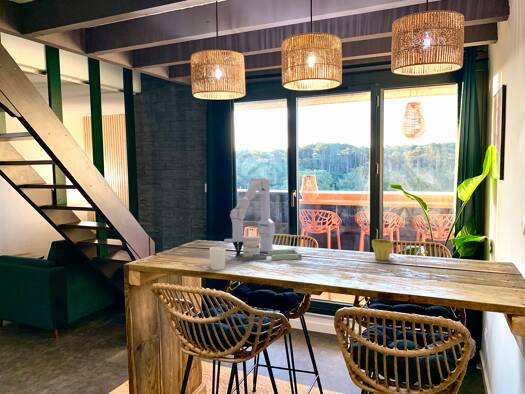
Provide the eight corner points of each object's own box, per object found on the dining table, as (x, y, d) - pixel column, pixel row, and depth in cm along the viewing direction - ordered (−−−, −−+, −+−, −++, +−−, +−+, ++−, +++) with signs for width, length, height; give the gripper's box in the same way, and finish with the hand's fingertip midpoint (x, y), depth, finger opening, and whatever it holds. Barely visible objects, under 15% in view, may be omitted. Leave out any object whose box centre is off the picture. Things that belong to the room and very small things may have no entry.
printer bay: (235, 256, 223) (235, 254, 222) (264, 255, 225) (264, 252, 225) (236, 260, 214) (236, 257, 214) (266, 259, 216) (266, 256, 216)
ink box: (259, 257, 221) (259, 235, 221) (258, 259, 216) (258, 237, 216) (244, 256, 222) (244, 235, 221) (243, 258, 217) (243, 237, 216)
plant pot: (373, 261, 210) (373, 242, 209) (370, 256, 220) (370, 239, 219) (393, 261, 209) (394, 242, 208) (389, 257, 219) (390, 239, 218)
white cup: (206, 268, 197) (206, 248, 196) (218, 265, 202) (218, 246, 202) (217, 271, 191) (216, 250, 191) (229, 268, 197) (229, 248, 196)
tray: (267, 254, 228) (267, 250, 228) (295, 253, 230) (295, 249, 230) (271, 260, 214) (271, 255, 214) (301, 258, 216) (301, 254, 216)
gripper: (224, 232, 212) (225, 258, 213) (252, 231, 214) (252, 256, 215) (224, 230, 219) (224, 255, 220) (250, 229, 221) (250, 254, 222)
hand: (238, 255), depth 218 cm, fingers closed
